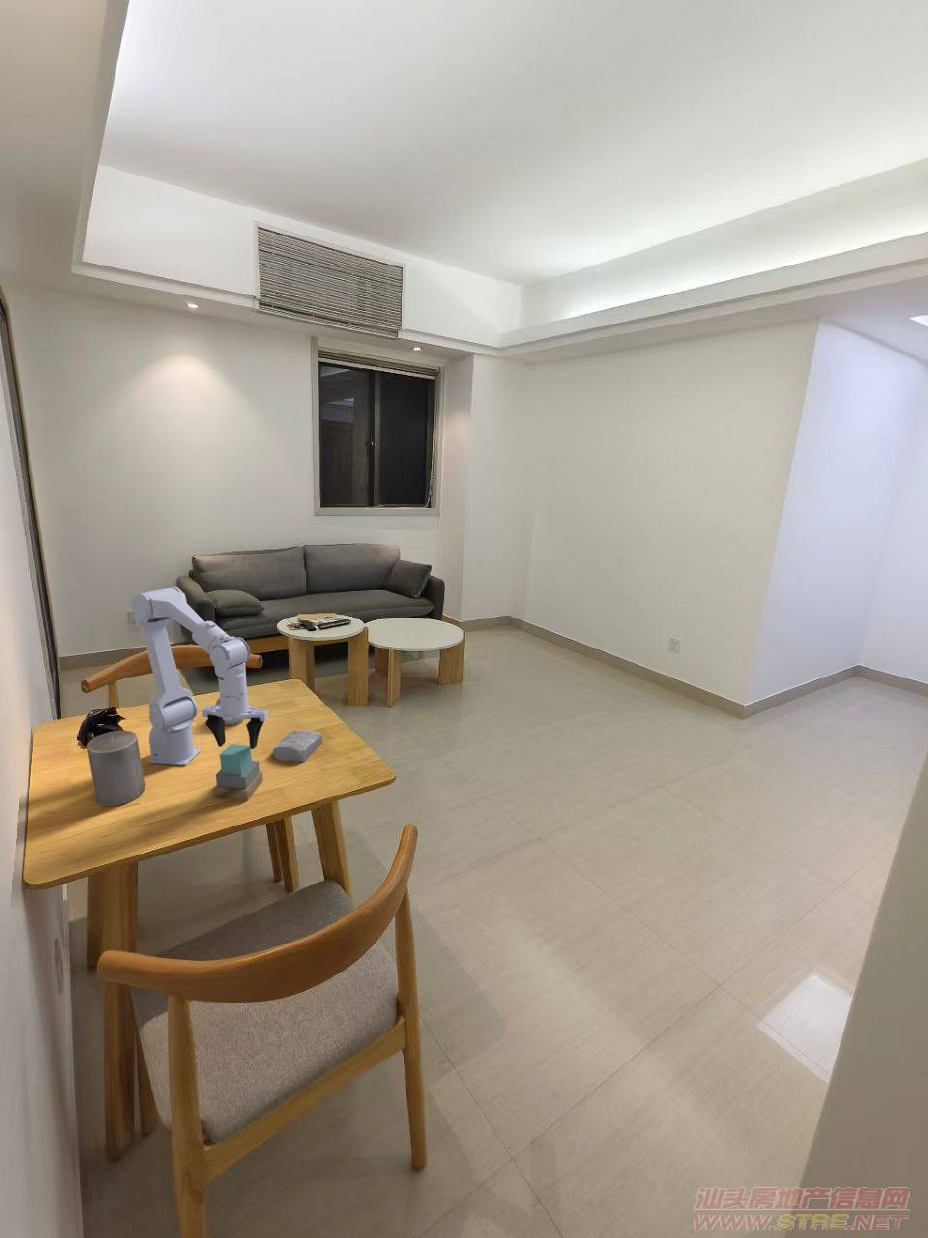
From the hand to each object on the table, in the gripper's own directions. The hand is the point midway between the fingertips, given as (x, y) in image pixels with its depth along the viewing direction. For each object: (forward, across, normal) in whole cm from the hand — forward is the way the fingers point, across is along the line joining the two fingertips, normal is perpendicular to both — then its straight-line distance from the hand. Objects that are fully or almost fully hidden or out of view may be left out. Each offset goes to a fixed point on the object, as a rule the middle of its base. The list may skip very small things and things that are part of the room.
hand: (237, 745), depth 129 cm
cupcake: (+11, -17, +31) cm, 37 cm away
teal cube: (+5, 0, -2) cm, 5 cm away
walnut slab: (+11, 0, -2) cm, 11 cm away
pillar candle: (+11, -25, -7) cm, 28 cm away
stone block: (+11, +7, +18) cm, 22 cm away
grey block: (+8, 0, -1) cm, 8 cm away
